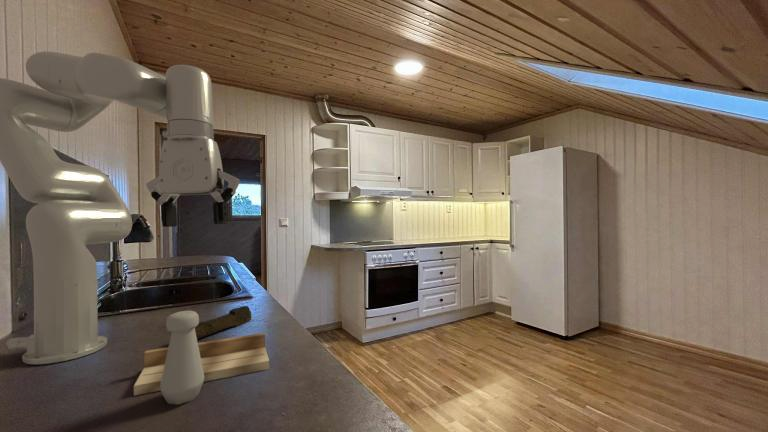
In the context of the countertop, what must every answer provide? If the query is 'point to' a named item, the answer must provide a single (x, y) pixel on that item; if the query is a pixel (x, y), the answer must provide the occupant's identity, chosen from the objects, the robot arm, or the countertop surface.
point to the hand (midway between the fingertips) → (195, 225)
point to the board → (210, 361)
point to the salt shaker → (182, 360)
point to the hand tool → (224, 322)
